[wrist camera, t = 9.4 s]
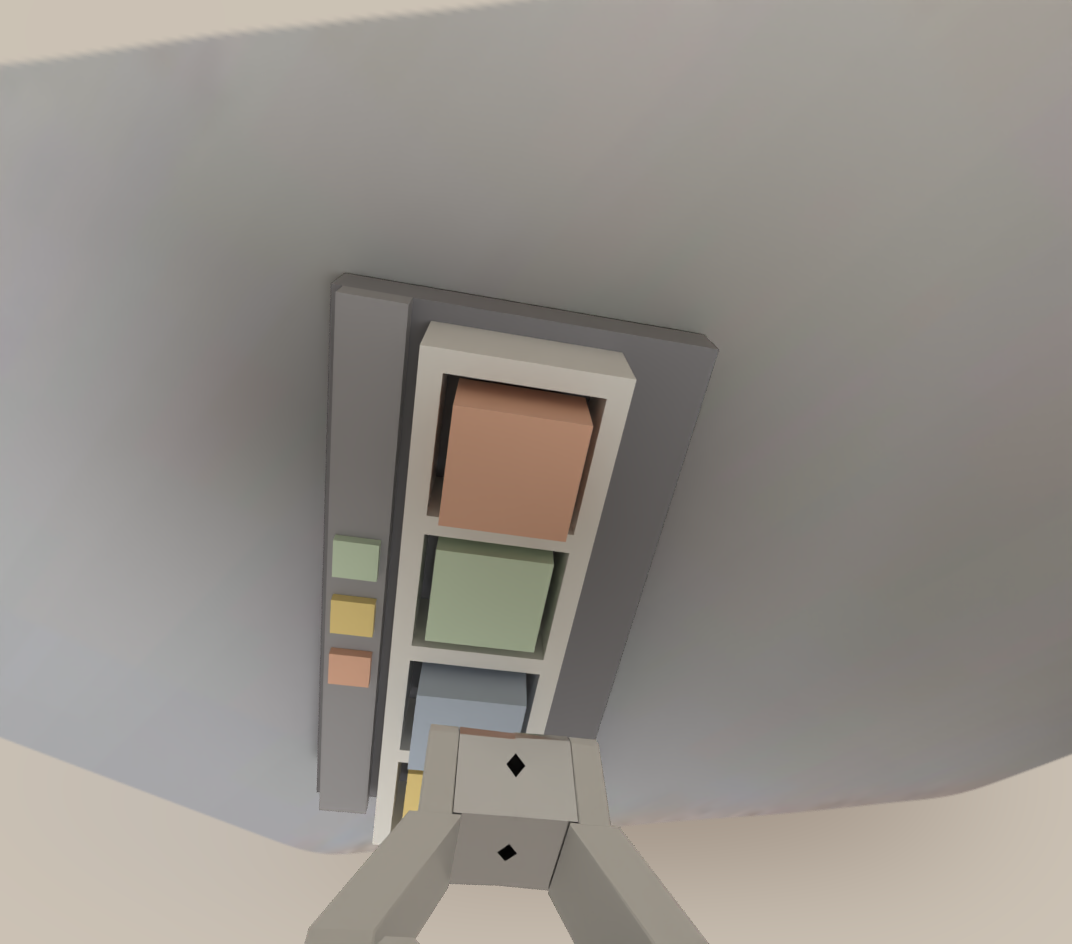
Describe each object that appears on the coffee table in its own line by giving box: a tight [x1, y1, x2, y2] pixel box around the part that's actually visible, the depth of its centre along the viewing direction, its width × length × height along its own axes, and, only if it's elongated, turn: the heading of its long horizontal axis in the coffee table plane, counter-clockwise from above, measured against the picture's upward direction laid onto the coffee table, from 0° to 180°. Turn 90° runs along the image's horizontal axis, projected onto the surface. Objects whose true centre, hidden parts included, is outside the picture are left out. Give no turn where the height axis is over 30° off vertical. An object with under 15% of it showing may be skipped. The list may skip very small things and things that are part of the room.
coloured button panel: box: [317, 273, 719, 845], centre depth 28 cm, size 14×27×5 cm, turn 170°
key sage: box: [425, 536, 554, 653], centre depth 25 cm, size 4×4×2 cm
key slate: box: [408, 662, 527, 771], centre depth 27 cm, size 4×4×2 cm
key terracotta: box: [438, 378, 593, 542], centre depth 22 cm, size 4×4×2 cm
